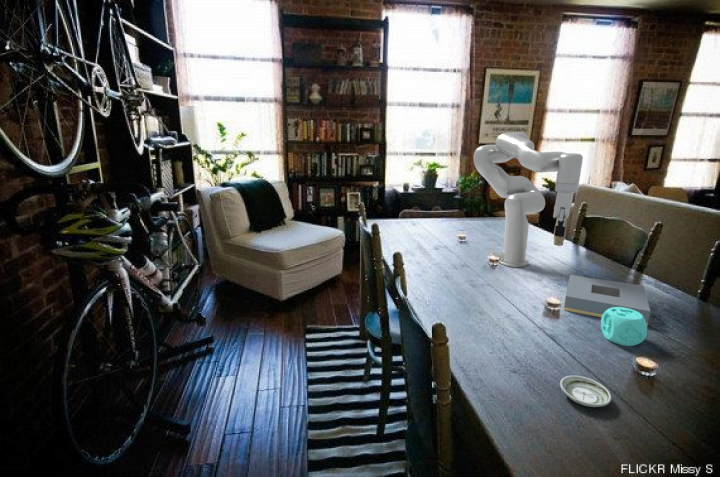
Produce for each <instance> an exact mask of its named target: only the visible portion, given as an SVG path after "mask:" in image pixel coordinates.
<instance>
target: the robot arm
mask: <svg viewBox="0 0 720 477" xmlns="http://www.w3.org/2000/svg"><path fill="white" fill-rule="evenodd" d="M514 158H515V159H517V161H518V163H520V165H521V166H522V167H524V168H526V169H528V170H530V171H532V172H535V173H556V172H557V173H556V179H555V186H554V192H557V193H556V197H555V203H554V206H555V209H554V208H553V210H554V211H553V215H552V217H553V219H555V218H556V221H557V224H556V223H555V225H556V227H555V226H554V230H555V234H554V233H553V236H554V235H555V236H559V237H564V232H565V220H566V219H567V220H568V218H569V216H570V213H571V212H570V209H571V207H572V206H573V199H574V194H576V193H578V191H579V186H580V185H579V184H580V180H581V179H580V178H581V172H582V167H583V166H582V165H583V159H584V157H583V155H582V154H581V153H573V152H571V153H570V152H568V153H567V152H564V151H544V152H542V151H538V150H535V144H534V142H533V141H532V140H530V137H529V136H528V135H527V134H526V133H524V132H522V131H521V132H520V131H519V132H517V131H515V132H504V133H501V134H500V135H498V136H497V138H496V140H495V144H485V145H481V146H479V147H477V148H476V149H475V150H474V153H473V164H474V167H475V169H476V171H477V172H478V173H479V174H480V175H481V176H482V178H484V179H485V180H486V181H487V183H488V185H490V187H491V188H492V189H493V190H494V192H495V193H496V194H497V195H498V196H499V197H501V198H503V199H505V200H504V214H505V222H504V223H505V224H504V236H503V248H502V249H503V250H502V251H496V250H493V252H492V256H494V257H496V258H499V259H498V263H499V262H500V265H503V266H506V267H511V268H524V267H525V268H526V267H527V266H529V264H530V263H529V260H528V259H526V256H527V246H528V237H529V236H528V235H529V226H530V224H529V221H528V218H527V216H526V215H531V214H532V215H533V214H537V213H540V212H541V211H543V210H544V208H545V206H546V199H545V197H544V195H543V194H542V192H541V191H540V190H539V189H538V188H537V187H536V185H534V184H533V183H532V181H531V180H530V179H529V178H528V177H525V176H523V175H513V176H512V175H509V174H508V173H507V172H506V171H505V170H504V169H503V168H502V167H501V166H499V165H497V164H499V163H501V164H502V163H506V162H508V161H510V160H512V159H514ZM564 210H565V212H564ZM557 216H558V218H557ZM563 217H565V218H563ZM563 220H564V221H563Z"/></svg>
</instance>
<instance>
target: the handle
mask: <svg viewBox="0 0 720 477" xmlns="http://www.w3.org/2000/svg"><path fill="white" fill-rule="evenodd" d="M554 209H555V205H554V206H553V210H554ZM573 211H574V207H573V206H571V209H570V213H572V212H573ZM564 212H565V210H564ZM557 218H558V216H557V217H556V219H557ZM563 218H565V217H563ZM563 221H564V220H563ZM556 224H557V220H556V222H555V225H554V228H555V227H556ZM567 224H568V218H567V219H566V220H565V232H564V237H559V236H555V235H554V234H555V229H554V231H553V245H555V246H557V247H560V246H564V242H565V240H566V235H567V228H568V227H567Z"/></svg>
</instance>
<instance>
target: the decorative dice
mask: <svg viewBox="0 0 720 477" xmlns="http://www.w3.org/2000/svg"><path fill="white" fill-rule="evenodd" d="M600 329H601V332H602V334H603V336H604V337H605V339H607V340H608V341H610V343H613V344H615V345H620V346H624V347H625V346H626V347H634V346H637V345H639V344H641V343H642V342H644V341H645V339H646V337H647V334H648V326H647V324H646V321H645V318H644V317H643V316H642V315H641V314H640V313H639V312H637V311H635V310H632V309H628V308H624V307H612V308H609V309H608V310H606V311H605V312H604V313H603V315H602V317H600Z"/></svg>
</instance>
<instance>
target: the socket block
mask: <svg viewBox="0 0 720 477" xmlns="http://www.w3.org/2000/svg"><path fill="white" fill-rule="evenodd" d="M646 294H647V293H646V290H645V287H644V285H641V284H640V285H639V284H635V283H626V282H622V281H621V282H620V281H613V280H608V279H601V278H600V279H599V278H594V277H586V276H581V275H575V274H570V275H569V279H568V284H567V288H566V294H565V299H564V306H563V307H564V308H563V310H564V311H567V312H570V313H571V312H572V313H576V314H577V313H578V314H582V315H588V316H593V317H597V318H602V315H603V313H604V312H605V311H606V310H608V309H609V308H612V307H624V308H628V309H632V310H635V311H637V312H639V313H640V314H641V315H642V316H643V317H644V318H645V321H646V324H647V327H648V325H649V321H650V315H651V308H650V305H649V300H648V297H647V295H646Z"/></svg>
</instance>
